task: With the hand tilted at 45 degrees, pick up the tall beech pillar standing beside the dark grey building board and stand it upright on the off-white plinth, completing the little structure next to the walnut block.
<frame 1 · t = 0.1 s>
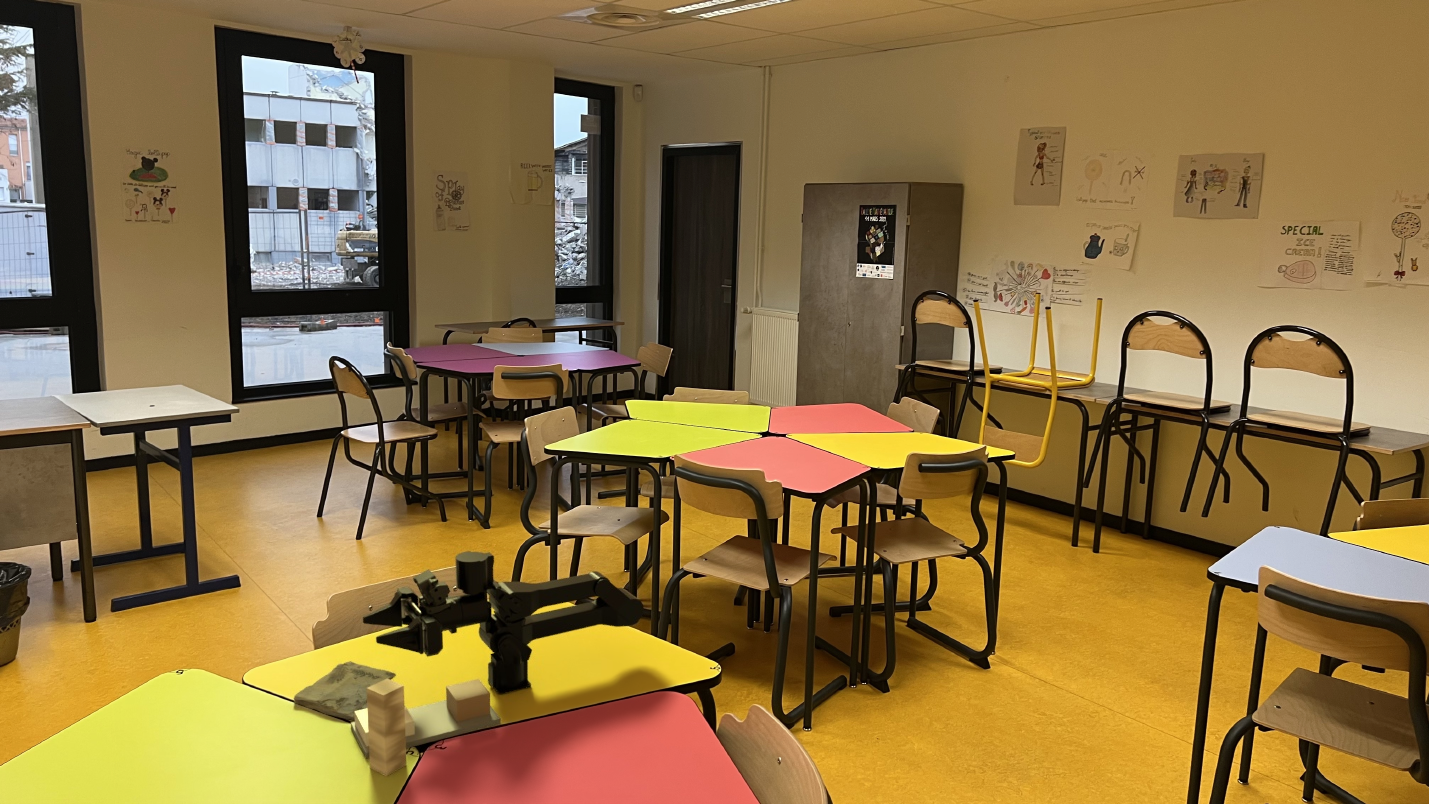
hand: (369, 629, 173), 17 cm above the table, tool horizontal, fingers open, 9 cm apart
beech pillar: (388, 766, 162), on the table
fossil rock: (349, 696, 185), on the table
building board: (426, 725, 175), on the table
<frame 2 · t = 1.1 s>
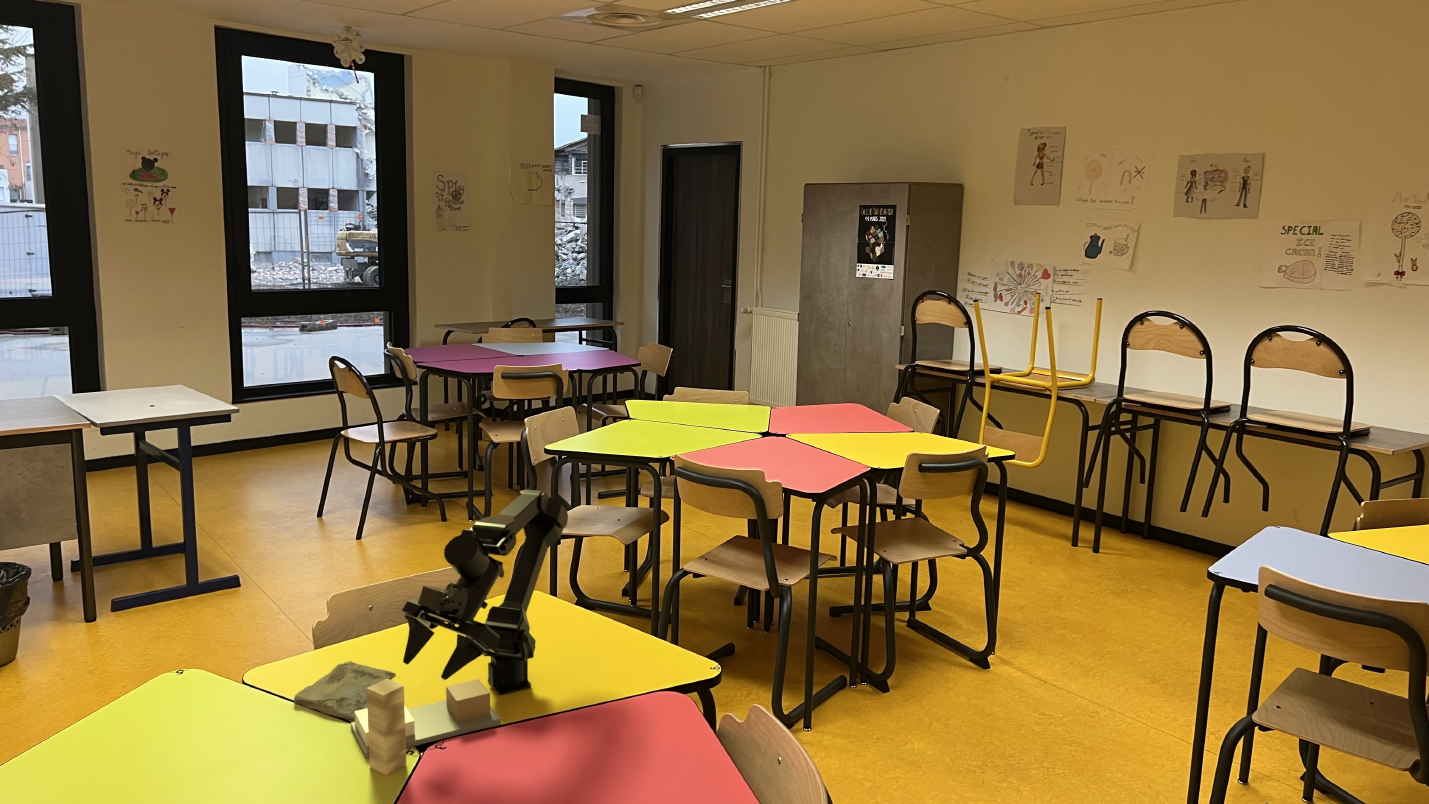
hand: (423, 670, 166), 14 cm above the table, tool tilted 45°, fingers open, 9 cm apart
nothing on the table moved.
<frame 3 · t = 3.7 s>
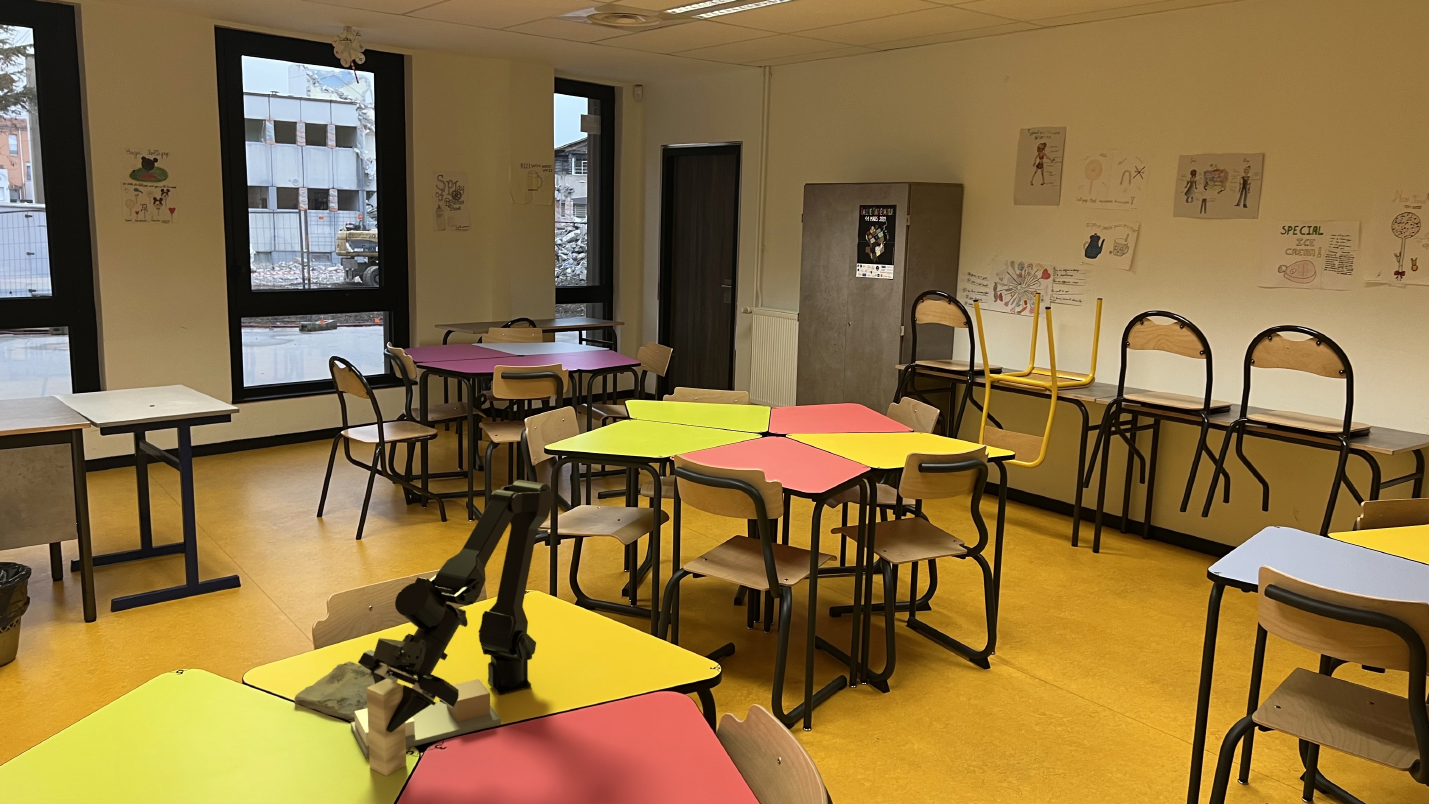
hand: (379, 727, 159), 8 cm above the table, tool tilted 45°, fingers closed on beech pillar, 4 cm apart
beech pillar: (388, 766, 162), on the table, touching gripper
everything else where it was.
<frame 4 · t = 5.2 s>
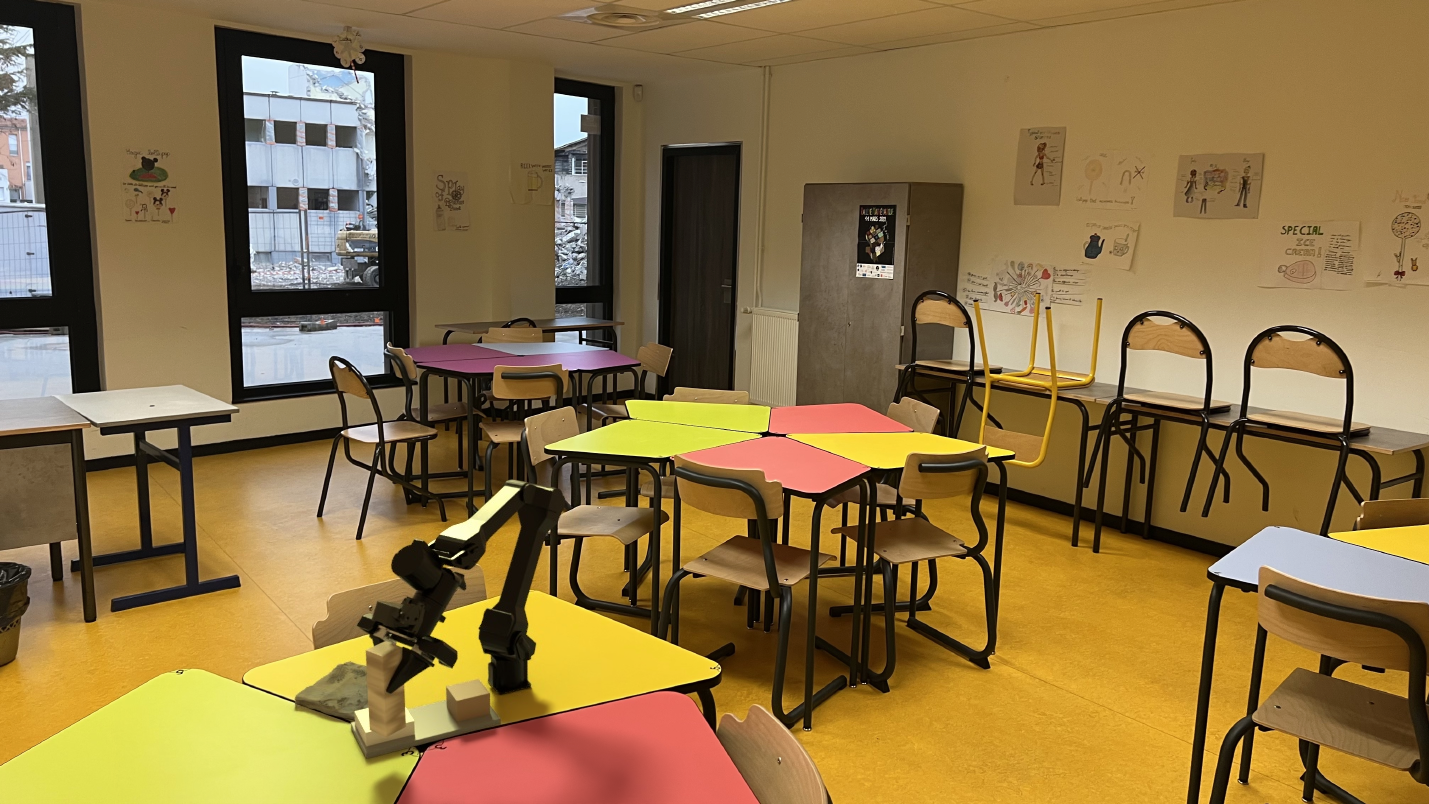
hand: (378, 688, 160), 13 cm above the table, tool tilted 45°, fingers closed on beech pillar, 4 cm apart
beech pillar: (387, 728, 163), point 6 cm above the table, touching gripper
everything else where it was.
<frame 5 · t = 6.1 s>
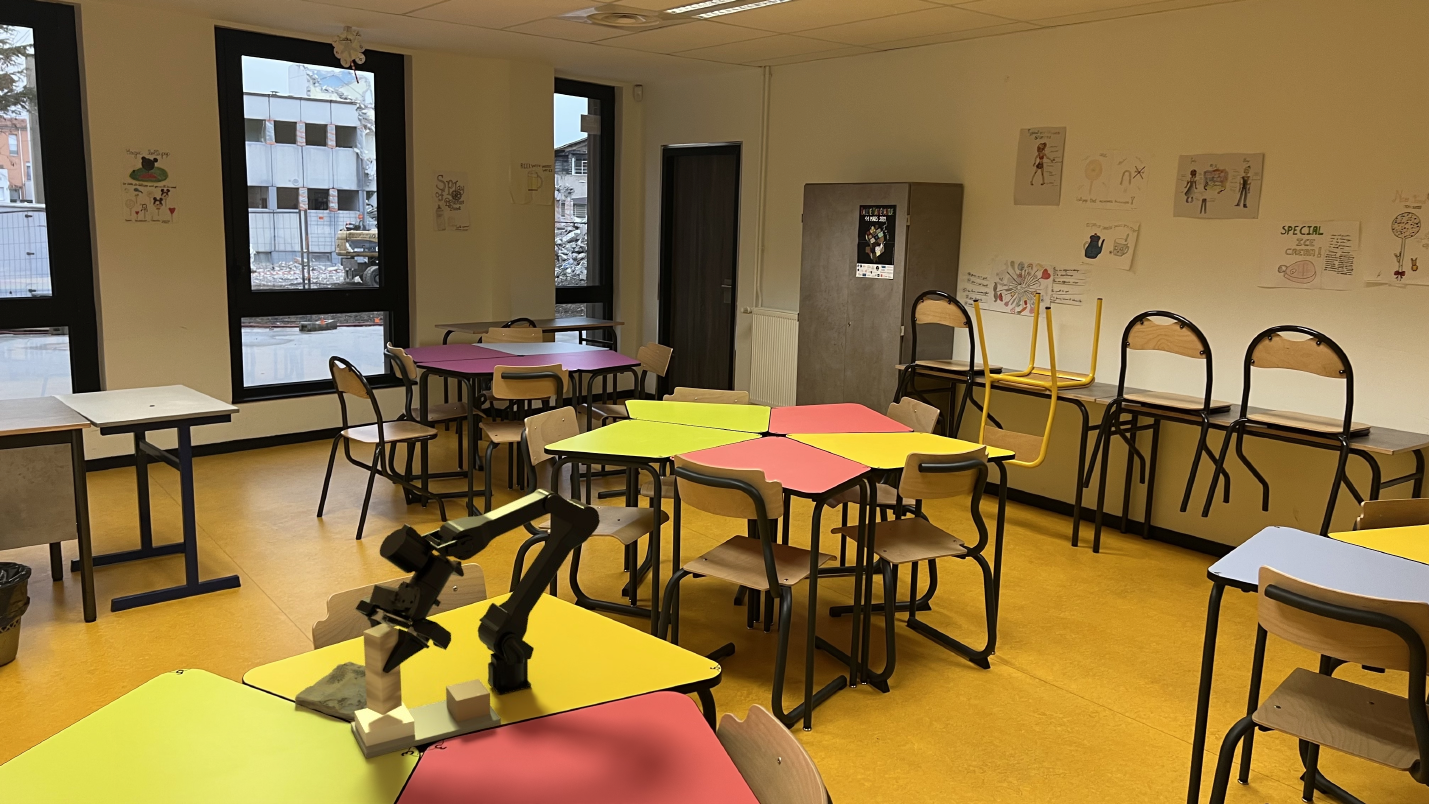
hand: (376, 668, 168), 13 cm above the table, tool tilted 45°, fingers closed on beech pillar, 4 cm apart
beech pillar: (384, 706, 170), point 5 cm above the table, touching gripper
everything else where it was.
when the fingers open (12 cm above the table, at t = 6.5 s): beech pillar stays where it is, resting on building board.
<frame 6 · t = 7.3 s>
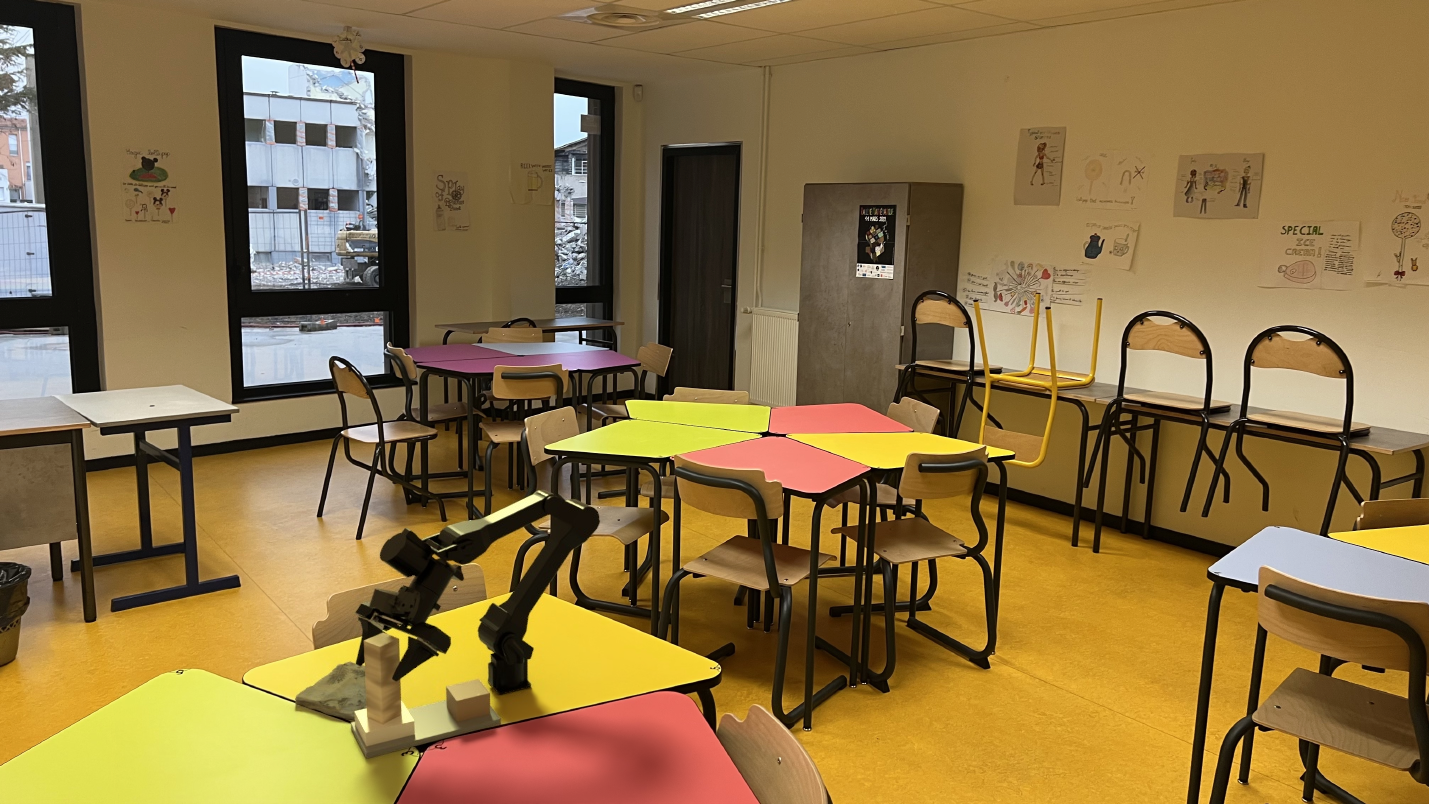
hand: (375, 672, 168), 12 cm above the table, tool tilted 45°, fingers open, 9 cm apart
beech pillar: (384, 715, 171), point 3 cm above the table, touching building board
everything else where it was.
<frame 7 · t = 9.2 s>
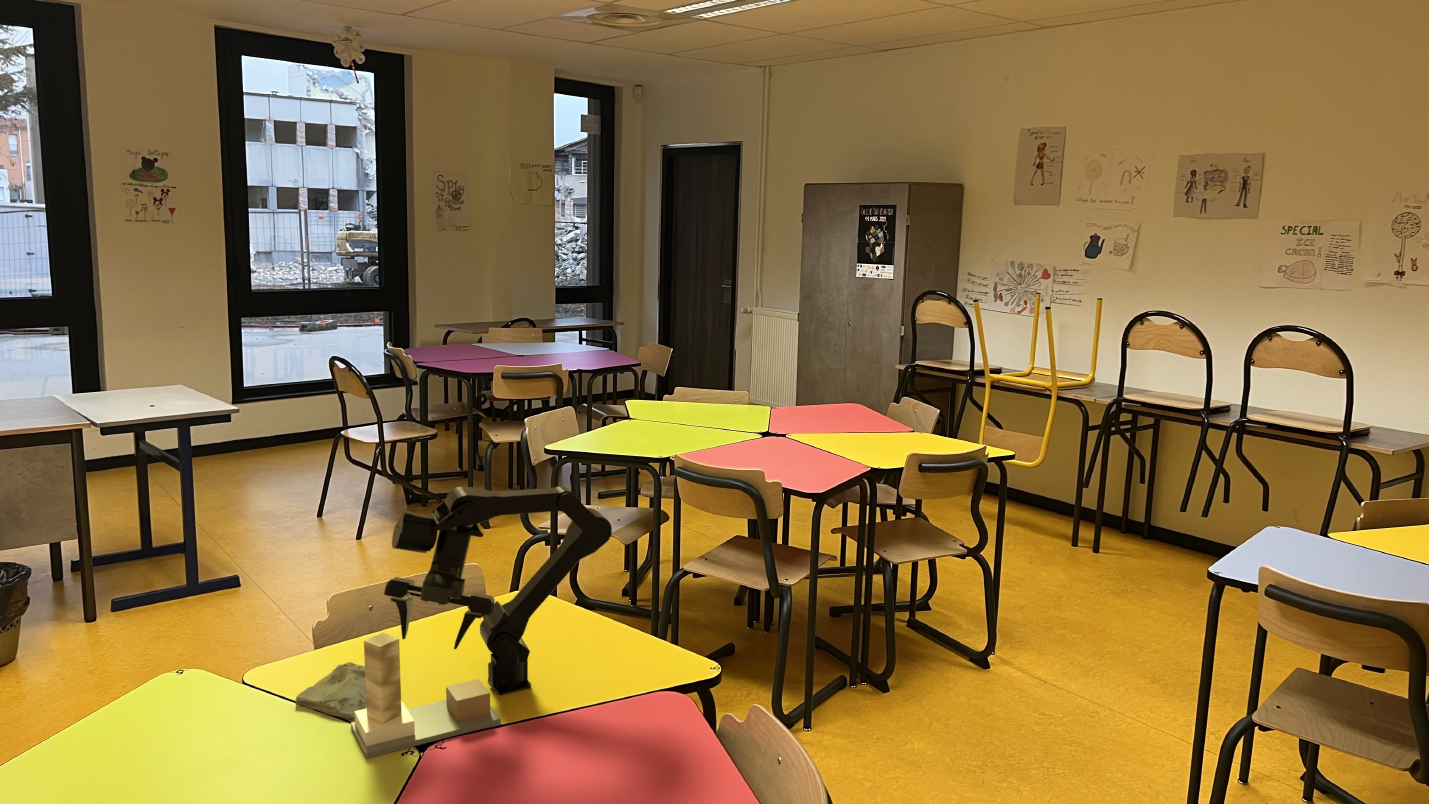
hand: (429, 643, 178), 12 cm above the table, tool tilted 20°, fingers open, 9 cm apart
nothing on the table moved.
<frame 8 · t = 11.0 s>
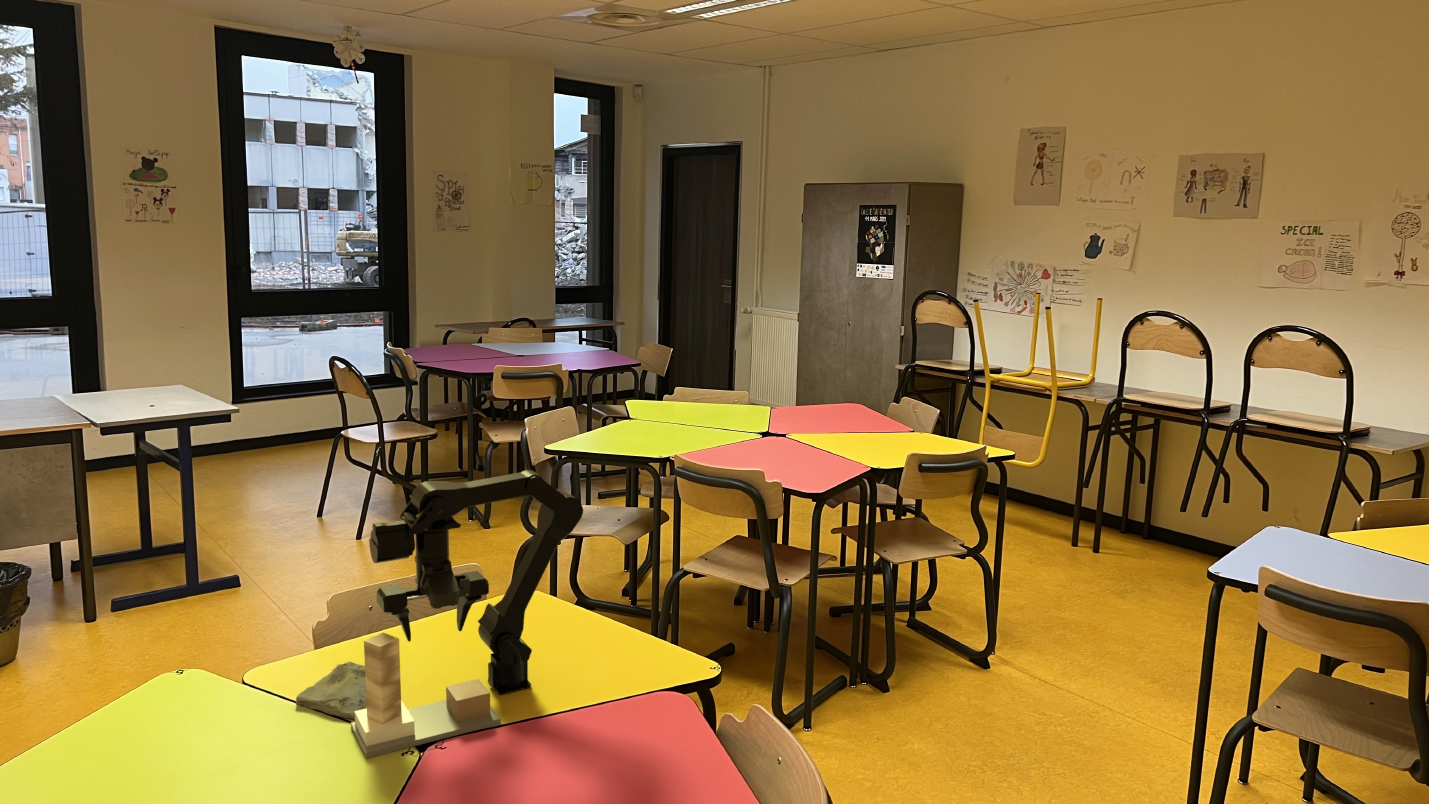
hand: (434, 635, 180), 13 cm above the table, tool pointing down, fingers open, 9 cm apart
nothing on the table moved.
at the end: beech pillar 0.0 cm from the target spot, point 3.5 cm above the table; beech pillar tilted 0°; the gripper is holding nothing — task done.
